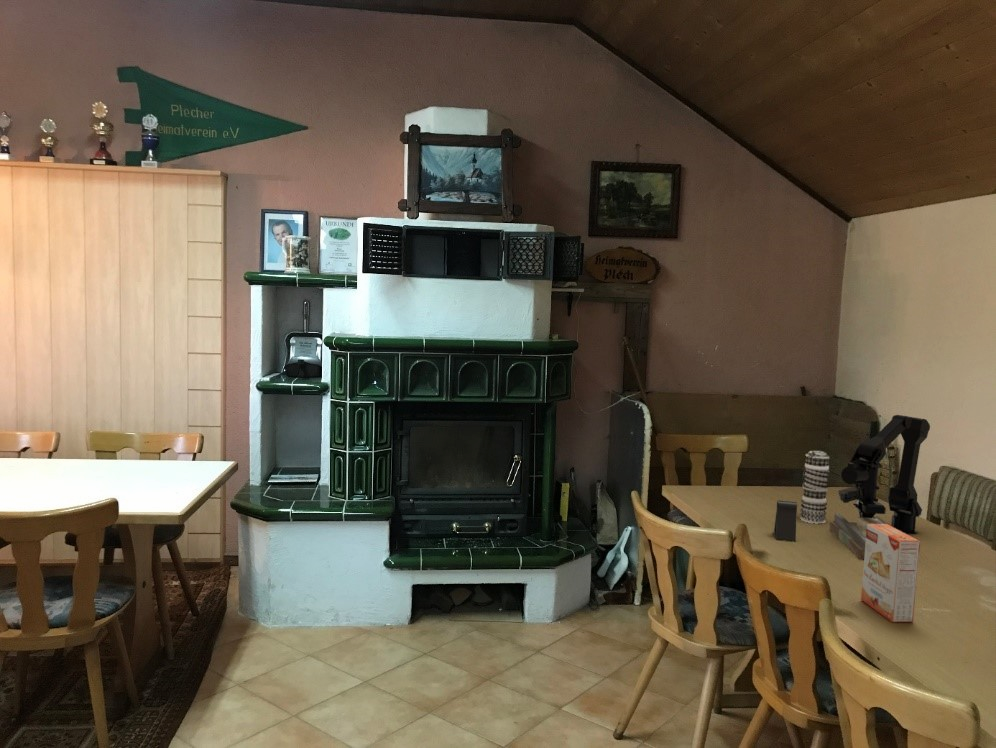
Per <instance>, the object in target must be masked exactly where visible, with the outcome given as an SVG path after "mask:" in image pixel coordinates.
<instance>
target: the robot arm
mask: <svg viewBox="0 0 996 748" xmlns="http://www.w3.org/2000/svg"><path fill="white" fill-rule="evenodd" d="M930 428H931V425H930V423H929V422H928V420H927V419H926V418H920V417H913V416H908V415H901V414H894V415H893V416H892V417H891V420H890V421H889V422H887V424H886V425H885V426H884V427H883V428H882V429H881V430H880V431H879V432H877V434H876V435H874V437H870V438H867V439H864V441H862V442H860V443H859V444H858V446H857V448H856V449H855V451H854V453H853V455H852V457H851V459H850V461H849V462H848V463H847V466H845V467H844V468H842V471H841V474H840V475H841V479H842V481H843V482H844V483H845V484H847V485H854V486H853V487H851V486H850V487H848V488H843V489H840V490H838V491H837V492H838V495H839V499H840V501H842V502H843V503H844V504H847V503H850V502H852V501H855V503H852V505H853V506H854V507H855V508H856V509H857V510H858V514H859V517H863V518H873V516H876V515H877V514H878V515H885V514H887V513H886V511H887V508H886V507H885V506H884V505H883V504H882V503H881V502H879V498H877V490H880V486H879V485H878V480H879V478H878V477H879V471H880V470H879V469H880V468H883V465H882V463H880V462H882V460H883V459H884V458H885V456H886V455H887V448H888V447H889V446H890V445H891V444H892V443H893V442H894V441H895V440H896V439H897V437H899V436H901V438H902V440H903V446H902V447H903V449H902V455H901V460H900V461H901V462H900V464H899V465H900V466H899V471H898V478H897V483H896V484H895V485H894V486H891V487H890V488H889V494H888V497H887V498H888V506H889V511H891V512H893V515H892V516H891V522H890V526H892V527H894V528H896V529H898V530H899V531H901V532H903V533H905V534H907V533H908V534H917V533H918V532H917V531H916V522H917V518H919V517H920V516H921V515H922V511H923V508H922V507H921V505H920V503H919V502H918V492H917V490H916V488H915V480H916V479H915V478H916V473H917V467H918V461H919V455H920V449H921V444H922V443H923V442H924V441H925V440H926V439H927V438H928V435H929V431H930Z"/></svg>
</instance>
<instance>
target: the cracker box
mask: <svg viewBox="0 0 996 748" xmlns="http://www.w3.org/2000/svg"><path fill="white" fill-rule="evenodd" d="M920 550H921V541H920V540H919V539H916V538H915V537H912V536H911V535H909V534H907V533H904V532H901V531H899V530H898V529H896V528H894V527H892V526H891V524H889V525H888V523H887V524H867V530H866V543H865V556H864V560H863V570H862V582H861V583H862V584H861V595H860V600H861V601H862V602H863V603H865V604H866V605H868V606H869V607H870V608H871V609H873V610H875V612H877V613H879V614H880V615H881V616H883V617H884V618H886V620H888V621H889V622H890V623H913V622H914V617H915V606H916V595H917V594H916V593H917V583H918V582H917V581H918V573H919V563H920V552H921V551H920Z"/></svg>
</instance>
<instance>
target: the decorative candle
mask: <svg viewBox="0 0 996 748" xmlns="http://www.w3.org/2000/svg"><path fill="white" fill-rule="evenodd" d="M805 456H806V457H805V463H804V466H803V467H802V471H803V473H802V478H801V479H802V481H803V482H802V488H803V493H802V499H801V500H800V501H801V505H800V506H801V509H800V510H799V511H800V514H799V516H800V518H799V520H800V519H801V520H800V521H802V520H803V521H802V522H804V521H805V522H804V523H807V522H808V523H809V524H813V523H815V525H819V524H818V523H823V524H825V523H826V518H827V515H826V514H827V512H826V510H827V507H826V506H827V505H828V503H827V491H829V489H828V488H829V485H828V484H830V482H829V480H828V479H831V475H830V474H831V472H830V471H831V470H830V465H829V464H830V463H829V462H830V458H831V457H830V456H829V455H828V454H827V452H825V451H822V450H810V451H808V453H805ZM808 523H807V524H808Z"/></svg>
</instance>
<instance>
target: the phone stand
mask: <svg viewBox="0 0 996 748" xmlns="http://www.w3.org/2000/svg"><path fill="white" fill-rule="evenodd" d="M797 510H798V503H797V502H796V501H788V500H787V501H786V500H779V499H778V500H777V501H776V511H775V517H774V518H775V520H774V528H773V534H774V537H776V538H775V540H776V541H783V540H786V541H785V542H792V541H794V542H795V543H796V542H797V538H796V537H797V536H796V535H797V514H798V513H797V512H798V511H797Z"/></svg>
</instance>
